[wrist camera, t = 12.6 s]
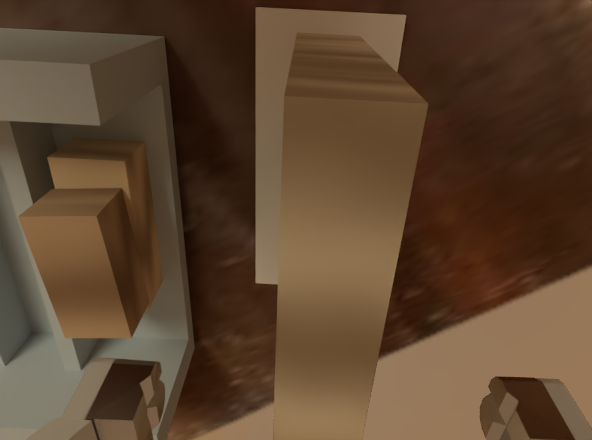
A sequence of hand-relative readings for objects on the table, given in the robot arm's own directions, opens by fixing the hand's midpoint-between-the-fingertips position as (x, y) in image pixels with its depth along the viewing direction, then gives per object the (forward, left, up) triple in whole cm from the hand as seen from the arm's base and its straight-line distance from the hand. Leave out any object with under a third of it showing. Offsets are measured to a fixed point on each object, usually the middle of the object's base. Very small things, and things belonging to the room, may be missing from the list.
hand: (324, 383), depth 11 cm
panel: (0, 0, -15) cm, 15 cm away
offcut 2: (+4, -11, -11) cm, 16 cm away
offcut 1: (+3, -11, -14) cm, 18 cm away
